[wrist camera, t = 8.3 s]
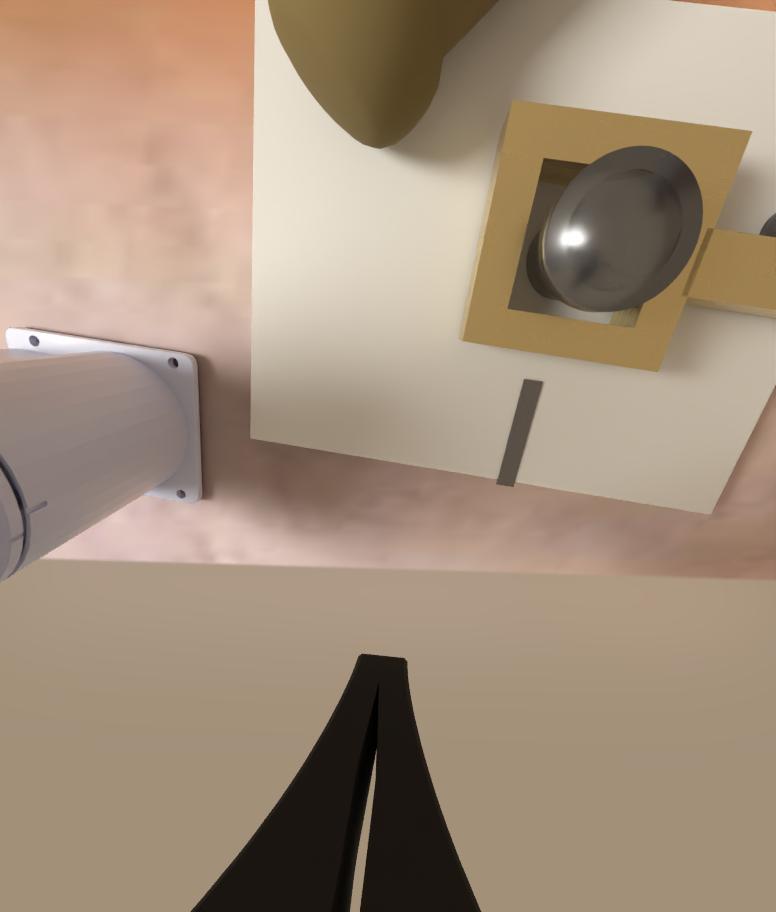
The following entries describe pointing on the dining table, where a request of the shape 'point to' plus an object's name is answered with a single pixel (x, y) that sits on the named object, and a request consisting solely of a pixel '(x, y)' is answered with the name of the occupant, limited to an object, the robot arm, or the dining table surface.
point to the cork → (373, 57)
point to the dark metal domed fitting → (611, 248)
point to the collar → (558, 162)
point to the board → (454, 247)
